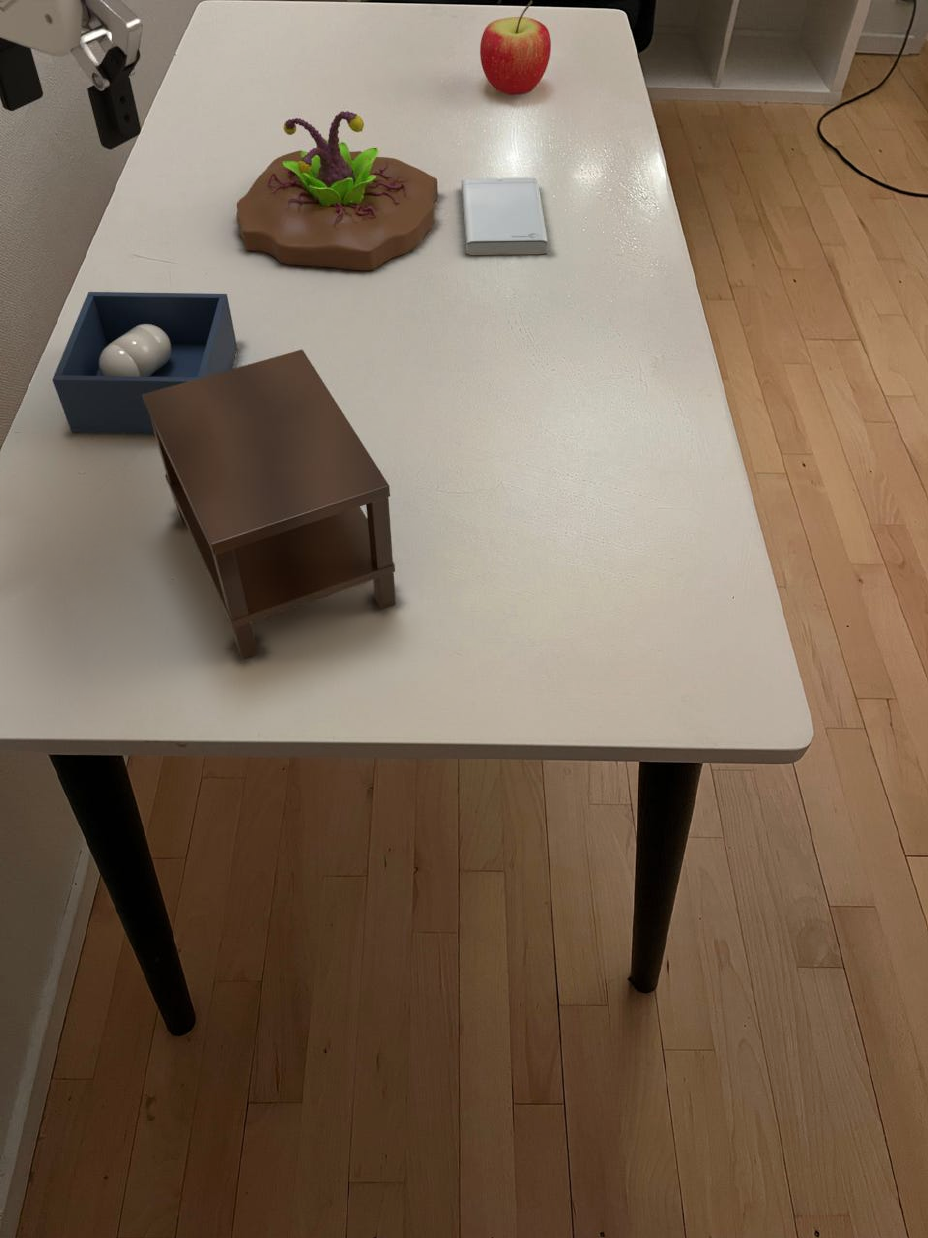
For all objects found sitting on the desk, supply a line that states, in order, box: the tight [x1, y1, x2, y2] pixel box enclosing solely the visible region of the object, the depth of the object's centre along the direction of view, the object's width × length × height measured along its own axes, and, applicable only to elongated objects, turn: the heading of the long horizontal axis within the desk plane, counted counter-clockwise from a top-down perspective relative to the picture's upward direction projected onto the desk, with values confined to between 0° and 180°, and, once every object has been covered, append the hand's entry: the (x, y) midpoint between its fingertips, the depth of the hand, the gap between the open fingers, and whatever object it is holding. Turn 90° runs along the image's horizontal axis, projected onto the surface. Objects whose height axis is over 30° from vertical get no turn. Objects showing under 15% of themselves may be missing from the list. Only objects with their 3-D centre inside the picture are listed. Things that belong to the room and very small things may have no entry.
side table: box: [142, 349, 397, 660], centre depth 76 cm, size 12×16×12 cm
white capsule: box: [99, 324, 172, 377], centre depth 92 cm, size 7×4×4 cm
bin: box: [51, 291, 238, 435], centre depth 91 cm, size 12×12×6 cm
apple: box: [479, 0, 552, 96], centre depth 126 cm, size 8×8×10 cm
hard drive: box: [461, 176, 549, 256], centre depth 110 cm, size 2×8×12 cm
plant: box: [236, 110, 439, 272], centre depth 107 cm, size 20×20×11 cm
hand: (72, 121), depth 74 cm, fingers open, 9 cm apart
